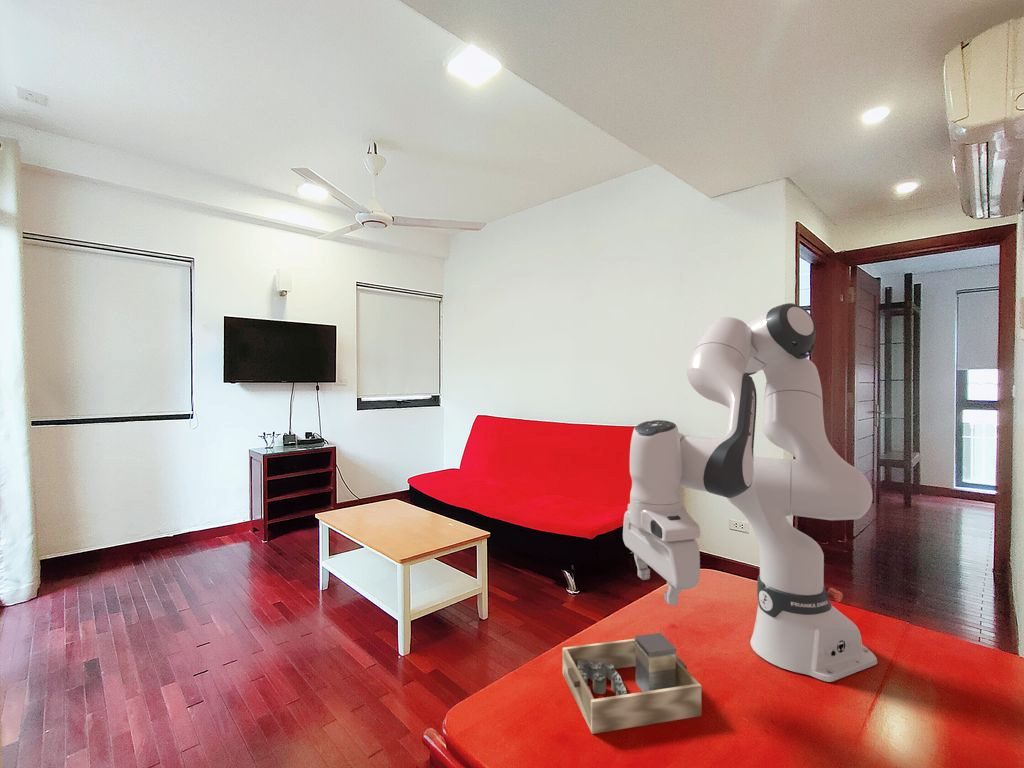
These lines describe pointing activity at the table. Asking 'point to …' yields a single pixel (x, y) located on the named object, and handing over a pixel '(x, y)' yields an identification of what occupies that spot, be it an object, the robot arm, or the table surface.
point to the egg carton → (601, 677)
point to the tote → (629, 706)
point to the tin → (654, 662)
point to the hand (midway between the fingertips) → (656, 590)
